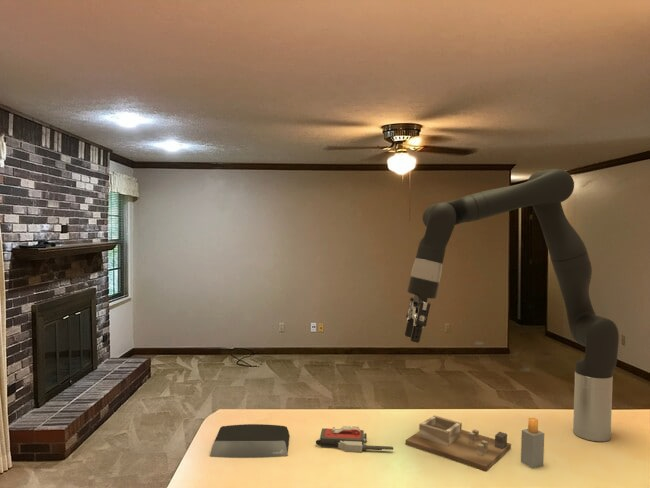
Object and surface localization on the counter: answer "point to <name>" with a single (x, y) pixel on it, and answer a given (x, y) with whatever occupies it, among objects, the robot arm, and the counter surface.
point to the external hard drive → (251, 441)
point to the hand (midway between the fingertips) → (411, 339)
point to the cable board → (459, 443)
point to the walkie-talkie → (347, 439)
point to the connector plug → (532, 445)
